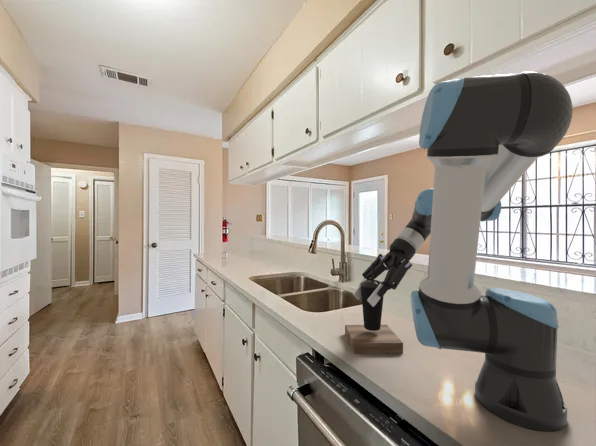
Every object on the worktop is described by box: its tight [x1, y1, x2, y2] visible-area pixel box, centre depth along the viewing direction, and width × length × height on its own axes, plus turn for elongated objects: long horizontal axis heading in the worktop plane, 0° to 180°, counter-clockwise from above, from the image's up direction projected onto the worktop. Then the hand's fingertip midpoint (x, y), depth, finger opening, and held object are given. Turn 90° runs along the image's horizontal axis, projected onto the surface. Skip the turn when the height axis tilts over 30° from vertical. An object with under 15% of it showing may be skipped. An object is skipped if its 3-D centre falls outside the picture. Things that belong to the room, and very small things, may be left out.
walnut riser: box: [344, 324, 404, 355], centre depth 90 cm, size 14×14×3 cm
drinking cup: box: [359, 262, 385, 331], centre depth 89 cm, size 8×8×20 cm
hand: (362, 300), depth 88 cm, fingers closed on drinking cup, 7 cm apart
